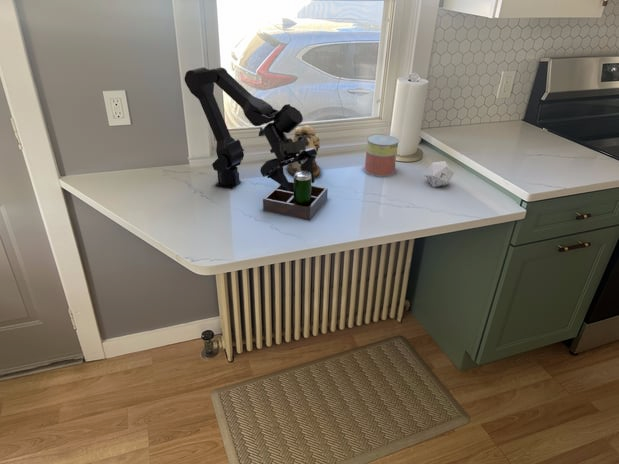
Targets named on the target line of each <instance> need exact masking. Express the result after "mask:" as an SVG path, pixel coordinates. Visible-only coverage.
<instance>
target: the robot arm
mask: <svg viewBox="0 0 619 464" xmlns="http://www.w3.org/2000/svg"><path fill="white" fill-rule="evenodd" d="M183 79H184V83H185V85H186V86H187V89H188V90H189V92H190V94H192V95H193V96H194V97H195V98H196V99H198V101H199V104H200V105H201V108H202V110H203V112H204V115H205V117H206V120H207V122H208V124H209V126H210V129H211V131H212V133H213V136H214V138H215V139H214V140H215V142H216V149H215V152H216V153H215V154H216V156H217V158H216V159H215V160H214V162H213V163H212V164H211V165H212V169H213V171H216V172H217V183H215V186H216V187H219V188H226V189H231V190H233V189H234V188H235V187H237V186H238V185H239V184H240V183H242V182H241V180H240V172H239V169H238V167H239V166H240V165H241V164H242V161H243V159H244V157H245V153H244V151H245V149H244V148H243V147H242V143H241V141H240V140H239V139H235V138H233V136H232V135H231V133H230V131H229V129H228V125H227V123H226V121H225V119H224V116H223V113H222V112H221V109H220V107H219V103H218V102H217V99H216V97H215V94H214V90H215V85H216V86H217V87H219V88H220V89H221V90H222V91H223V92H224V93H225V94H226V95H227V96H229V98H231V99H232V100H233V101H234V102H235V103H236V104H237V105H238V106H240V108H241V109H242V110H243V114H244V116H245V118H246V120H248V122H250V124H251V125H253V126H254V127H259V132H258V137H265V139H266V140H267V142H268V144H269V146H270V148H271V149H270V150H269V152H270V154H274V156H275V158H272V159H268V160H266V161H265V162H264V163H263V164H262V166H261V167H260V169H259V171H260V174H261V176H262V177H263V178H265V177H266V178H267V179H271V180H273V182H276V183H277V184H278V185H279V184H280V185H281V186H283V187H284V188H285V189H287V190H288V191H291V187H290V184H289V182H288V181H289V180H288V179H287V176H286V175H285V173H284V172H285V171H284V167H288V165H290V164H293V163H296V162H298V163H299V164H301V166H300V168H301V169H302V171H308V172H310V173H311V177H312V184H313V183H315V179H314V175H313V166H312V164H313V160H314V159H315V156H316V157H317V156H318V151H317V152H316V150H315V149H314V148H309V149H306V146H308V145H309V142H308V139H307V138H306V136H305V135H304V136H300V137H298V141H294V142H293V141H292V140H293V139H292V138H291V137H290V138H288V136H287V134H290V133H292V131H293V130H295V129H296V128H298V127H299V125H300V124H301V123H302V122H303V120H304V117H303V114H302V113H301V111H300V110H299V109H297V108H296V107H293V106H291V104H290V103H286V104H284V105H283V106H282V107H281V108H280V109H278V108H274V107H273V106H272V105H271V104H270V103H268V102H266V101H265V100H263V99H262V98H258V97H256V96H254V95H253V94H251V92H249V91H248V90H247V89H246V88H244V86H243V85H242V84H240V82H238V81H237V80H236V79H235V78H234V77H233V76H232V75H231V74H230V73H229V72H228V71H227V69H226V68H225V67H221V66H220V67H216V68H211V69H209V68H206V67H198V68H193V69H190V70H187V71H186V72H185V74H184V78H183ZM263 125H264V126H263ZM300 150H303V151H302V152H301V153H300V154H299V155H298V153H299V152H300ZM292 160H293V161H292ZM315 160H316V159H315Z"/></svg>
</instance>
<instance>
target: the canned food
mask: <svg viewBox="0 0 619 464" xmlns="http://www.w3.org/2000/svg"><path fill="white" fill-rule="evenodd" d="M399 141H400V140H399V139H398V138H397V137H395V136H393V135H388V134H372V135H369V136H368V137H367V138H366V149H365V150H366V152H365V161H364V162H365V163H364V171H365V173H367V174H368V175H371V176H374V177H390V176H393V175H394V174H395V173H396V163H397V154H398V147H399Z"/></svg>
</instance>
